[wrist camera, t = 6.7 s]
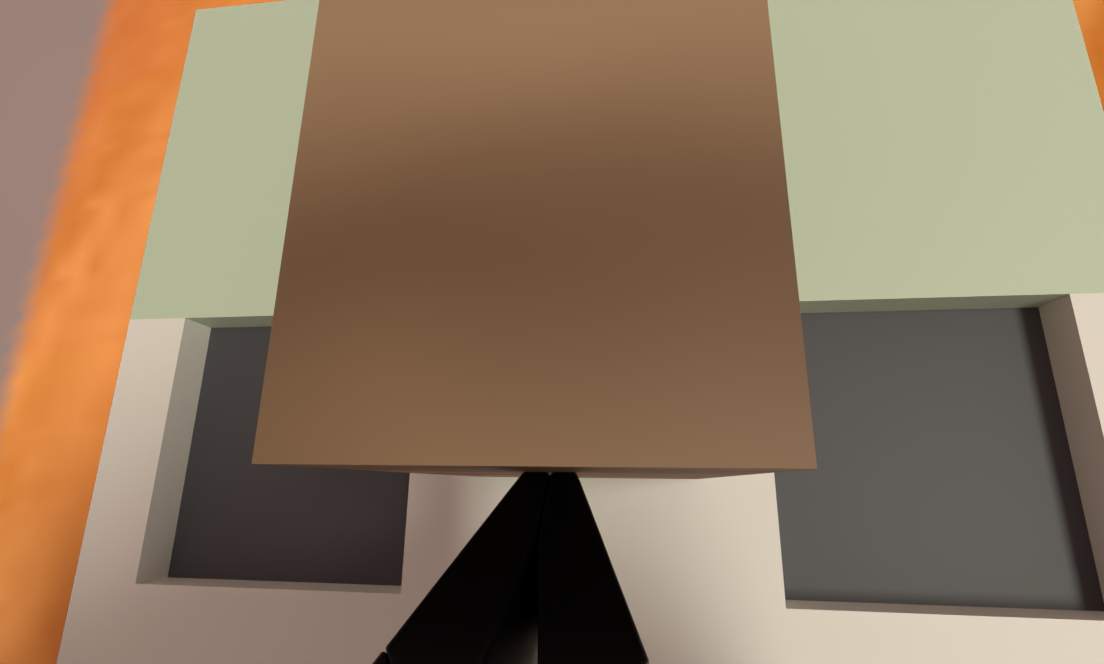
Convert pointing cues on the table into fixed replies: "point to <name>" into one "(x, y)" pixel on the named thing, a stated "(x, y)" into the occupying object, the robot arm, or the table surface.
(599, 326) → the brown wooden block
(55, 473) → the table surface
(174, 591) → the trap board
